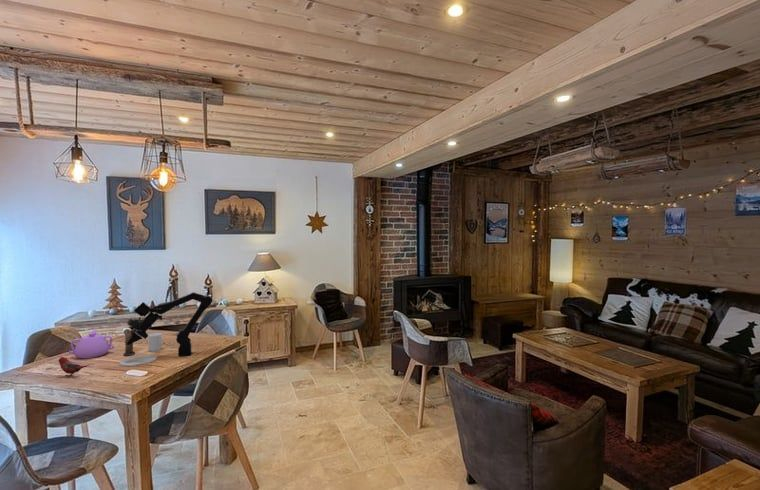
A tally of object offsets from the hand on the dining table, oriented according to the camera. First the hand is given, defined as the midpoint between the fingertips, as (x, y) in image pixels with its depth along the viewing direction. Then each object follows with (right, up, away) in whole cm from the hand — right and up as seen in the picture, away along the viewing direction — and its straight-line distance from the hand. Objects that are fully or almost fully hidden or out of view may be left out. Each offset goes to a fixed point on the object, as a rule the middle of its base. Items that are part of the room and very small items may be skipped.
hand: (126, 344), depth 209 cm
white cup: (0, -11, +27) cm, 30 cm away
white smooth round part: (+3, -11, +5) cm, 13 cm away
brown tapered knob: (+1, -7, +1) cm, 7 cm away
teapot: (-33, -11, +18) cm, 39 cm away
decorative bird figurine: (-14, -12, -19) cm, 27 cm away
